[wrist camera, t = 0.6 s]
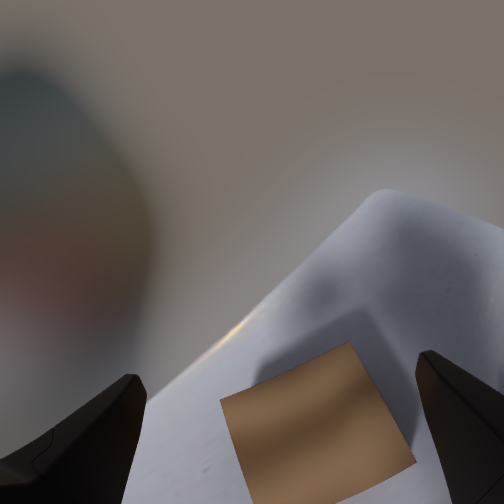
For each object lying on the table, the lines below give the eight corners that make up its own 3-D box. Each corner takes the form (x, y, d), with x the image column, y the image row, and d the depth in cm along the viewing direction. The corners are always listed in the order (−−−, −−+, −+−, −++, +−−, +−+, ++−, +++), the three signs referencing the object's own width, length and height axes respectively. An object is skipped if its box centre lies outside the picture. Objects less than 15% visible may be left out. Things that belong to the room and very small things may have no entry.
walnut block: (406, 466, 17) (417, 462, 13) (281, 520, 17) (262, 527, 13) (352, 366, 24) (348, 341, 21) (243, 416, 24) (219, 399, 21)
